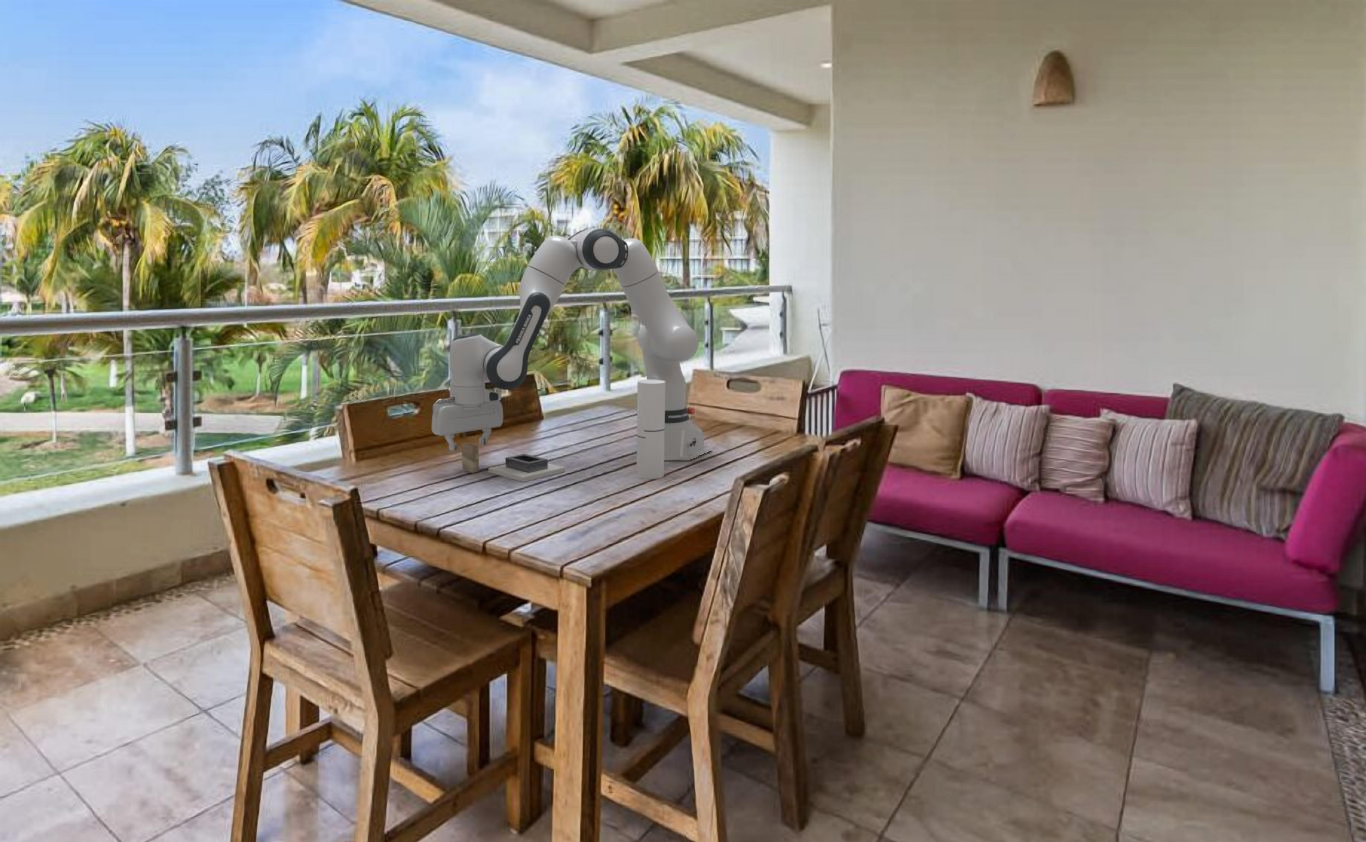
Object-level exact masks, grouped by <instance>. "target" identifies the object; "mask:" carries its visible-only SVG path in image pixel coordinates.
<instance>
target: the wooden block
mask: <svg viewBox="0 0 1366 842" xmlns="http://www.w3.org/2000/svg"><path fill="white" fill-rule="evenodd" d="M479 453H480V452H479V445H477V444H473V443H471V442H470V443H469V442H467V443H461V460H462V461H461V462H462V463H461V465H462V467H461V468H462V470H463V471H466V472H470V473H477V472H480V458H479V456H480V455H479Z"/></svg>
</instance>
